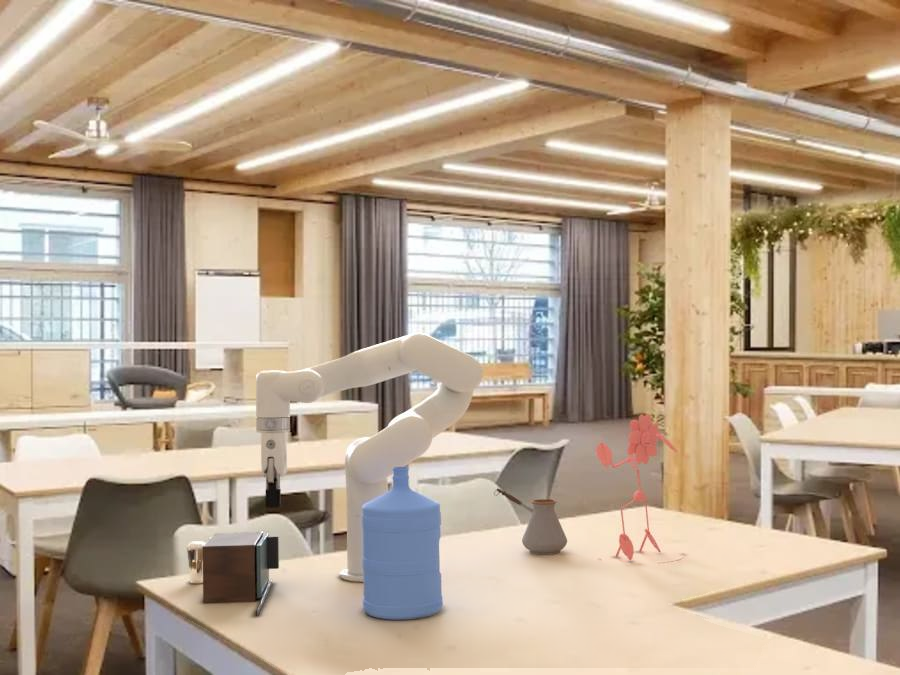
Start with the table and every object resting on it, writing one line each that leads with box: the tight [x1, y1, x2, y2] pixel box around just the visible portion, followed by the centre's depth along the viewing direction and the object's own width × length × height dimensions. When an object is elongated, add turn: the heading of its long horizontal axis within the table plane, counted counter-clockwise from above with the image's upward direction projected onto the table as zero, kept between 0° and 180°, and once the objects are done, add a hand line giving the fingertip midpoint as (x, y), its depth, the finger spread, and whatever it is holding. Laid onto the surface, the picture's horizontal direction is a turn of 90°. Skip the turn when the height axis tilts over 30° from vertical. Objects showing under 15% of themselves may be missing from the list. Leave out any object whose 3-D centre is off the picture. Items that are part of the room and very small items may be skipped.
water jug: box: [362, 466, 444, 621], centre depth 195 cm, size 16×16×28 cm
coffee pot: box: [493, 487, 568, 555], centre depth 254 cm, size 21×12×15 cm, turn 49°
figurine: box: [595, 413, 687, 565], centre depth 240 cm, size 15×26×35 cm, turn 131°
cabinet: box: [202, 531, 273, 617], centre depth 206 cm, size 12×28×12 cm, turn 4°
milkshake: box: [186, 537, 211, 585], centre depth 223 cm, size 5×5×10 cm
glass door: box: [256, 532, 280, 599], centre depth 212 cm, size 3×16×11 cm, turn 4°
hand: (273, 506), depth 222 cm, fingers closed
